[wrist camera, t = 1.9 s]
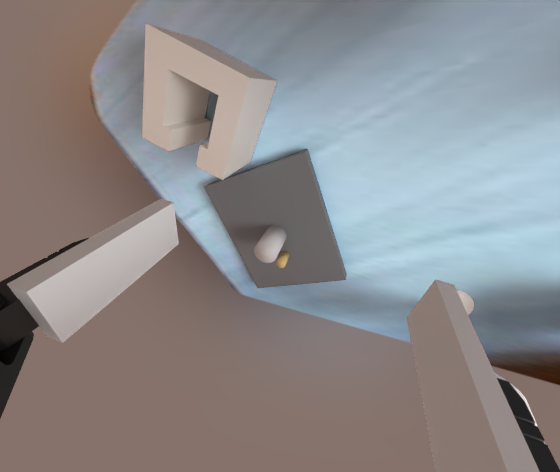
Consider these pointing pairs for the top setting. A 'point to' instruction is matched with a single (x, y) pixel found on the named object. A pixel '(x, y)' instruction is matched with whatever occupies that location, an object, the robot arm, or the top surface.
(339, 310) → the top surface
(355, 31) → the top surface
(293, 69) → the top surface
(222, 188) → the base plate
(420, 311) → the robot arm
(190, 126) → the beige notched hollow block
